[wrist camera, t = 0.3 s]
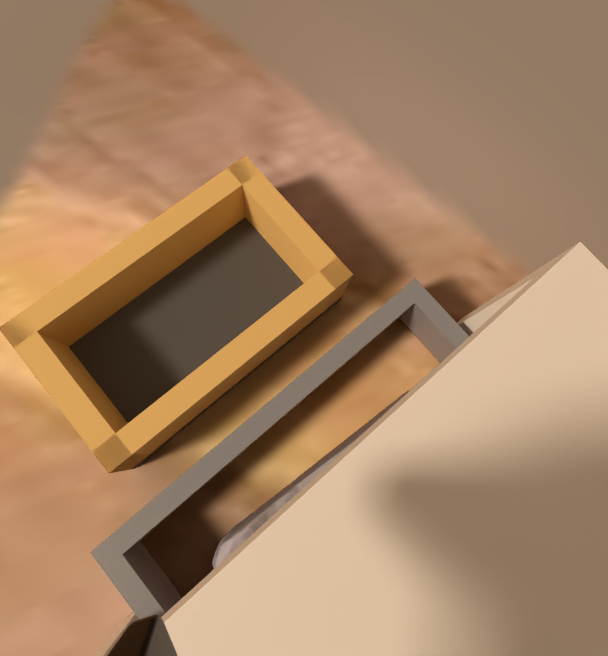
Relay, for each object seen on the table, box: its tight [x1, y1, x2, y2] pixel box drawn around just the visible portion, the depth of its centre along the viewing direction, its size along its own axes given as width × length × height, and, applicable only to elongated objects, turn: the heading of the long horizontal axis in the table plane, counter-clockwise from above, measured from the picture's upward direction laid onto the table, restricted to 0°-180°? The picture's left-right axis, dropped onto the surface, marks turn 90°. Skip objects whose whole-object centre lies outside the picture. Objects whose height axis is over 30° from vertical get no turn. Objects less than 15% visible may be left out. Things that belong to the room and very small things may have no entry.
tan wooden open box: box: [0, 156, 353, 473], centre depth 21 cm, size 7×12×4 cm, turn 131°
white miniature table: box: [94, 242, 608, 656], centre depth 16 cm, size 11×20×9 cm, turn 131°
